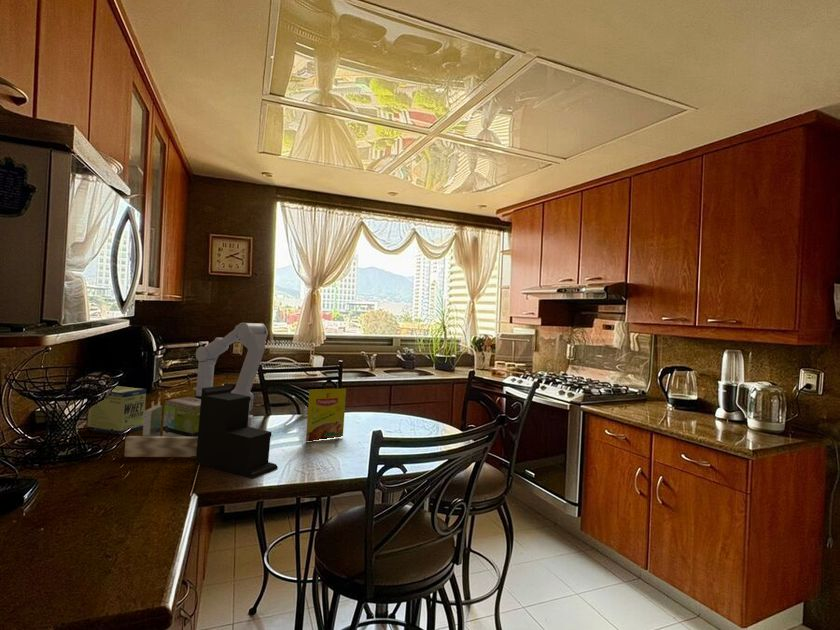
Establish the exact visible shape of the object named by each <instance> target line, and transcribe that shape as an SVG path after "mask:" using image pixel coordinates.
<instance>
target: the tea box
mask: <svg viewBox="0 0 840 630" xmlns="http://www.w3.org/2000/svg"><path fill="white" fill-rule="evenodd" d="M200 406H201V399H197V398H196V397H191V396H185V397H180V398H173V399H167V400H165V401H164V409H163V411H164V412H163V424H162V425H163V426H162V436H181V437H198V429H199V417H200Z"/></svg>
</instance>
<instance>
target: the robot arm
mask: <svg viewBox="0 0 840 630" xmlns="http://www.w3.org/2000/svg"><path fill="white" fill-rule="evenodd" d="M268 334H269V331H268V329H267V327H266V325H265V324H264V323H262V322H259V323H255V322H254V323H253V322H240V323H239V324H237V325H235V326H234V329H233V330H232V331H230V332H229V333H228V334H226V335H225V336H223V337H215V338H214V340H213V341H211V342H210V343H207V344H206V345H205V346H199V347H198V348H197V349H196V351H195V358H196V360H197V361H198V365H197V379H196V387H193V389H192V390H193V391H195V393H194V396H195V397H194V398H197V399H201V394H202V388H206V387H214V377H215V376H214V373H215V365H216V364H217V360H218V358H219V356H220V355H222V354H224V353H225V352H226V351H228V349H229V346H230V345H232V344H234V343H236V342H238V341H240V342H241V343H242V345H243V346H244V347H245V348H246V349H247V352H246V355H245V358H244V361H243V364H242V367H241V370H240V373H239V376H238V379H237V382H236V385H235V387H234V389H231V393H234V394H240V395H246V396H250V397H251V399H250V401H249V412H250V411H251V410H252V409H253V407H254V397H255V395H254V394H253V392H251V390H252V387H253V385H254V381H255V379H256V376H257V373H258V370H259V368H260V365H261V361H262V358H263V355H264V353H265V349H266V347H265V346H266V340H267V337H268ZM248 427H251V428H254V415H253V414H249V415H248Z"/></svg>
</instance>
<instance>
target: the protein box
mask: <svg viewBox="0 0 840 630" xmlns="http://www.w3.org/2000/svg"><path fill="white" fill-rule="evenodd" d="M115 386H116V387H115V388H114V389H113V390H112V392H111V393H110V394H109V395H108V397H107V398H105V399H104V400H102V401H100V402H98V403H97V404H95V405H93V406H92V407H91V408H90V409H89V408H88V415H87V423H86V425H87V426H86V429H87V428H94V429H96V430H92V431H91V432H96V433H104V434H109V433H110V432H112V435H116V434H117V433H121V432H123V431H125V430H127V429H128V428H130V427H132V429H131V431H130V433H133V432H138V431H140V430H143V425H144V412H145V411H146V399H147V388H140V387H138V388H137V387H136V388H135V387H128V386H119V385H115ZM111 429H113V431H111Z"/></svg>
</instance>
